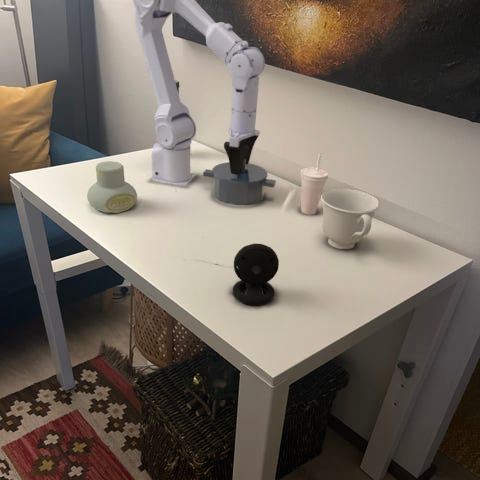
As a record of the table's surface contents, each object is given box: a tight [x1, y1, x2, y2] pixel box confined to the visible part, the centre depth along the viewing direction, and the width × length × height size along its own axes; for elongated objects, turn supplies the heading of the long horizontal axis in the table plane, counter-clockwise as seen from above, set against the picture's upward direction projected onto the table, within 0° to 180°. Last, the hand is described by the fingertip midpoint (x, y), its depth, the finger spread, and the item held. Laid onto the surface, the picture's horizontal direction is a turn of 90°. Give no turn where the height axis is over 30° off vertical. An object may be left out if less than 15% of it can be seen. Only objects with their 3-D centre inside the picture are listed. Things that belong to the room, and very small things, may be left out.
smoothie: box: [299, 152, 329, 215], centre depth 116 cm, size 6×6×14 cm
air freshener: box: [86, 160, 138, 214], centre depth 111 cm, size 11×8×10 cm
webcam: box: [232, 243, 280, 306], centre depth 86 cm, size 8×8×10 cm
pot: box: [202, 169, 277, 206], centre depth 123 cm, size 12×18×6 cm
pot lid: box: [211, 158, 268, 184], centre depth 120 cm, size 13×13×4 cm
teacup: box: [320, 188, 381, 250], centre depth 104 cm, size 12×15×10 cm
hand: (239, 168), depth 120 cm, fingers open, 7 cm apart
